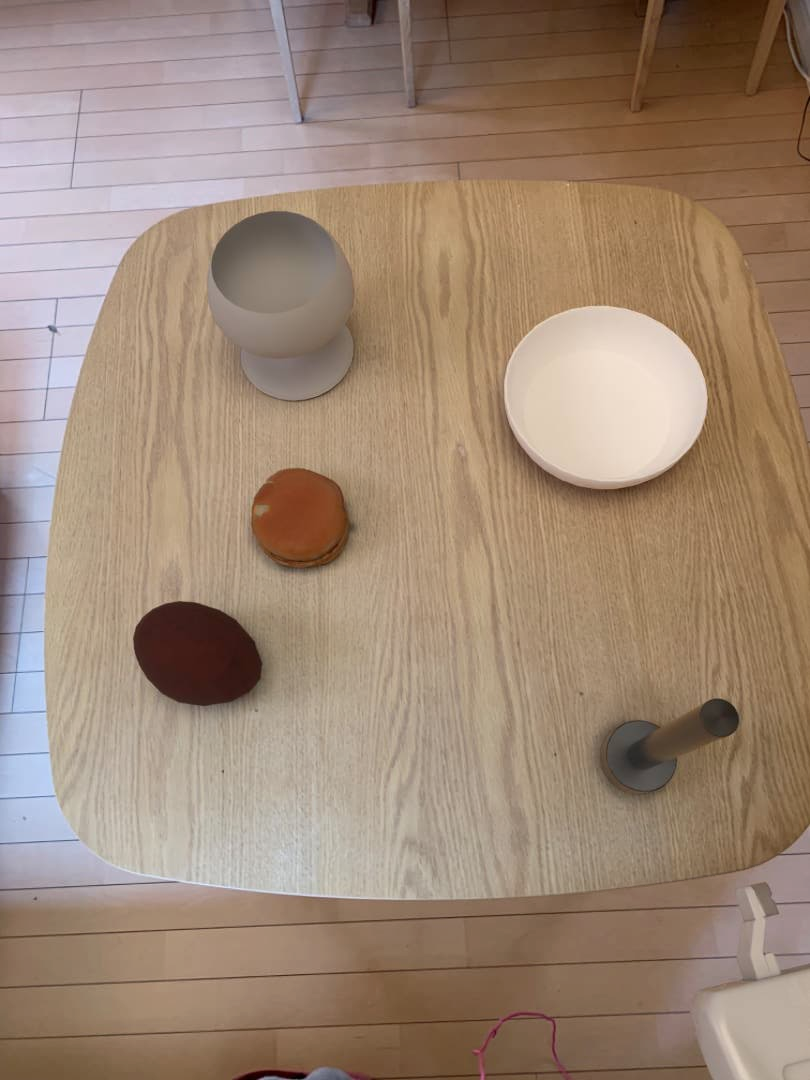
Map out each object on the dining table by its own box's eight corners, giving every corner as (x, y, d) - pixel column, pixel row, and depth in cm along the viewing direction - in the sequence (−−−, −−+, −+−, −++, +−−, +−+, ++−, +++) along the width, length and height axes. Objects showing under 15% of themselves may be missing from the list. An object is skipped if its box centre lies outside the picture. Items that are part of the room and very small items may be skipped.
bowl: (622, 312, 92) (635, 275, 86) (728, 454, 86) (749, 425, 80) (464, 387, 89) (467, 355, 84) (562, 540, 83) (572, 517, 77)
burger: (363, 551, 83) (359, 534, 79) (273, 585, 82) (264, 569, 78) (330, 467, 87) (324, 446, 82) (243, 498, 86) (233, 479, 81)
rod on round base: (676, 740, 76) (779, 691, 54) (656, 805, 74) (754, 782, 52) (612, 714, 77) (686, 655, 55) (590, 778, 75) (659, 743, 53)
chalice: (281, 434, 88) (253, 353, 74) (207, 344, 92) (168, 252, 78) (388, 361, 91) (381, 270, 77) (312, 277, 95) (291, 176, 81)
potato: (174, 602, 82) (143, 571, 73) (287, 645, 80) (269, 620, 71) (132, 685, 79) (95, 664, 70) (248, 733, 77) (225, 717, 69)
